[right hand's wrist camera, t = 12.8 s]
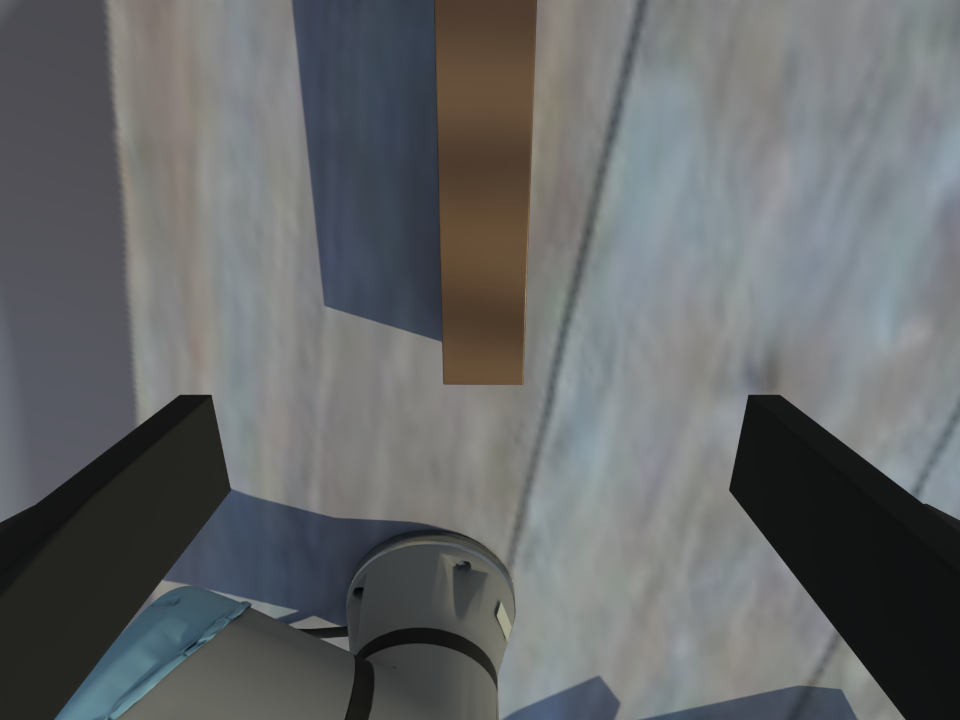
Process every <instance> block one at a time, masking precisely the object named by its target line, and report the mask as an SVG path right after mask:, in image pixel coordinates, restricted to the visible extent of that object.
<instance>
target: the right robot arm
mask: <svg viewBox="0 0 960 720" xmlns="http://www.w3.org/2000/svg"><path fill="white" fill-rule="evenodd" d="M230 491H231V488H230V483H229V478H228V473H227V469H226V464H225V459H224V454H223V449H222V444H221V439H220V434H219V429H218V424H217V420H216V415H215V410H214V405H213V400H212V395H179V396H178V397H177V398H175V399H174V400H173V401H171V402H170V403H169V404H167V405H166V406H165V407H164V408H162V409H161V410H160V411H158V412H157V413H156V414H154V415H153V416H152V417H150V418H149V419H148V420H146V421H145V422H144V423H142V424H141V425H140V426H139V427H137V428H136V429H135V430H133V431H132V432H131V433H129V434H128V435H127V436H126V437H124V438H123V439H122V440H120V441H119V442H118V443H116V444H115V445H114V446H112V447H111V448H110V449H108V450H107V451H106V452H104V453H103V454H102V455H101V456H99V457H98V458H97V459H95V460H94V461H93V462H91V463H90V464H89V465H87V466H86V467H85V468H83V469H82V470H81V471H79V472H78V473H77V474H75V475H74V476H73V477H72V478H70V479H69V480H68V481H66V482H65V483H64V484H62V485H61V486H60V487H58V488H57V489H56V490H55V491H53V492H52V493H51V494H49V495H48V496H47V497H45V498H44V499H43V500H41V501H40V502H39V503H37V504H36V505H35V506H32V507H30V508H28V509H26V510H24V511H22V512H20V513H18V514H17V515H14V516H12V517H11V518H9V519H7V520H5V521H3V522H1V523H0V720H499V708H498V686H497V675H498V672H499V669H500V666H501V663H502V659H503V656H504V653H505V650H506V647H507V644H508V640H509V637H510V634H511V631H512V627H513V623H514V619H515V598H514V588H513V583H512V580H511V577H510V575H509V573H508V571H507V569H506V568H505V566H504V565H503V563H502V562H501V561H500V560H499V559H498V557H497V556H496V555H495V554H493V553H492V552H491V551H490V550H489V549H487V548H486V547H484V546H483V545H481V544H479V543H478V542H476V541H473V540H471V539H469V538H466V537H464V536H461V535H457V534H453V533H448V532H441V531H418V532H411V533H406V534H402V535H399V536H396V537H393V538H391V539H389V540H387V541H385V542H383V543H381V544H379V545H378V546H376V547H375V548H374V549H372V550H371V551H370V552H369V553H368V554H367V555H366V556H365V557H364V558H363V559H362V561H361V562H360V563H359V565H358V567H357V568H356V570H355V573H354V575H353V578H352V582H351V585H350V588H349V591H348V595H347V601H346V614H347V625H348V626H344V627H332V628H319V629H296V628H294V627H292V626H289V625H287V624H285V623H283V622H281V621H279V620H277V619H274V618H272V617H270V616H268V615H266V614H264V613H261V612H259V611H257V610H255V609H253V608H251V605H252V604H251V603H249V602H247V601H244V602H238V601H235V600H233V599H230V598H228V597H225V596H222V595H220V594H217V593H214V592H212V591H209V590H206V589H204V588H201V587H197V586H183V587H179V588H176V589H173V590H171V591H169V592H167V593H166V594H164V595H162V596H161V597H160V598H158V599H157V600H156V601H154V602H153V603H152V604H151V605H150V606H149V607H148V608H147V609H145V610H144V611H143V612H142V613H141V614H140V615H139V616H138V617H137V618H136V619H135V620H134V621H133V622H132V623H131V624H130V625H129V627H128V628H127V629H126V630H125V631H124V632H123V633H122V634H121V632H122V631H123V630H124V628H125V627H126V626H127V625H128V623H129V622H130V621H131V619H132V618H133V617H134V615H135V614H136V613H137V612H138V610H139V609H140V608H141V606H142V605H143V604H144V602H145V601H146V600H147V599H148V597H149V596H150V595H151V593H152V592H153V591H154V589H155V588H156V587H157V586H158V584H159V583H160V582H161V580H162V579H163V578H164V576H165V575H166V574H167V573H168V571H169V570H170V569H171V567H172V566H173V565H174V563H175V562H176V561H177V560H178V558H179V557H180V556H181V554H182V553H183V552H184V551H185V549H186V548H187V547H188V545H189V544H190V543H191V541H192V540H193V539H194V538H195V536H196V535H197V534H198V532H199V531H200V530H201V528H202V527H203V526H204V525H205V523H206V522H207V521H208V519H209V518H210V517H211V515H212V514H213V513H214V512H215V510H216V509H217V508H218V506H219V505H220V504H221V502H222V501H223V500H224V499H225V497H226V496H227V495H228V493H229V492H230ZM729 491H730V492H731V493H732V495H733V496H734V497H735V499H736V500H737V501H738V502H739V504H740V505H741V506H742V508H743V509H744V510H745V512H746V513H747V514H748V515H749V517H750V518H751V519H752V521H753V522H754V523H755V525H756V526H757V527H758V528H759V530H760V531H761V532H762V534H763V535H764V536H765V538H766V539H767V540H768V541H769V543H770V544H771V545H772V547H773V548H774V549H775V551H776V552H777V553H778V554H779V556H780V557H781V558H782V560H783V561H784V562H785V563H786V565H787V566H788V567H789V569H790V570H791V571H792V573H793V574H794V575H795V576H796V578H797V579H798V580H799V582H800V583H801V584H802V586H803V587H804V588H805V589H806V591H807V592H808V593H809V595H810V596H811V597H812V599H813V600H814V601H815V602H816V604H817V605H818V606H819V608H820V609H821V610H822V612H823V613H824V614H825V615H826V617H827V618H828V619H829V621H830V622H831V623H832V625H833V626H834V627H835V628H836V630H837V631H838V632H839V634H840V635H841V636H842V638H843V639H844V640H845V641H846V643H847V644H848V645H849V647H850V648H851V649H852V651H853V652H854V653H855V654H856V656H857V657H858V658H859V660H860V661H861V662H862V664H863V665H864V666H865V667H866V669H867V670H868V671H869V673H870V674H871V675H872V677H873V678H874V679H875V680H876V682H877V683H878V684H879V686H880V687H881V688H882V690H883V691H884V692H885V693H886V695H887V696H888V697H889V699H890V700H891V701H892V703H893V704H894V705H895V706H896V708H897V709H898V710H899V712H900V713H901V714H902V716H903V717H904V718H905V719H906V720H960V520H958V519H956V518H954V517H952V516H950V515H948V514H946V513H944V512H942V511H940V510H938V509H936V508H934V507H932V506H930V505H928V504H923V503H921V502H920V501H919V500H917V499H916V498H915V497H913V496H912V495H911V494H909V493H908V492H907V491H906V490H904V489H903V488H902V487H900V486H899V485H898V484H896V483H895V482H894V481H892V480H891V479H890V478H888V477H887V476H886V475H885V474H883V473H882V472H881V471H879V470H878V469H877V468H875V467H874V466H873V465H871V464H870V463H869V462H867V461H866V460H865V459H863V458H862V457H861V456H860V455H858V454H857V453H856V452H854V451H853V450H852V449H850V448H849V447H848V446H846V445H845V444H844V443H842V442H841V441H840V440H839V439H837V438H836V437H835V436H833V435H832V434H831V433H829V432H828V431H827V430H825V429H824V428H823V427H821V426H820V425H819V424H818V423H816V422H815V421H814V420H812V419H811V418H810V417H808V416H807V415H806V414H804V413H803V412H802V411H800V410H799V409H798V408H796V407H795V406H794V405H793V404H791V403H790V402H789V401H787V400H786V399H785V398H783V397H782V396H781V395H748V400H747V405H746V410H745V415H744V420H743V424H742V429H741V434H740V439H739V444H738V449H737V454H736V459H735V464H734V469H733V473H732V478H731V483H730V488H729ZM120 634H121V635H120ZM119 635H120V636H119ZM118 636H119V637H118ZM347 636H348V637H349V648H350V652H349V651H346V650H344V649H342V648H339V647H337V646H335V645H333V644H330V643H328V642H326V641H323V640H321V639H319V638H334V637H347Z"/></svg>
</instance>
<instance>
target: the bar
mask: <svg viewBox="0 0 960 720" xmlns="http://www.w3.org/2000/svg"><path fill="white" fill-rule="evenodd" d="M536 15H537V0H434V23H435V64H436V105H437V145H438V186H439V227H440V268H441V309H442V350H443V384H456V385H523V378H524V350H525V322H526V294H527V266H528V239H529V211H530V183H531V155H532V127H533V99H534V71H535V43H536Z"/></svg>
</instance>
